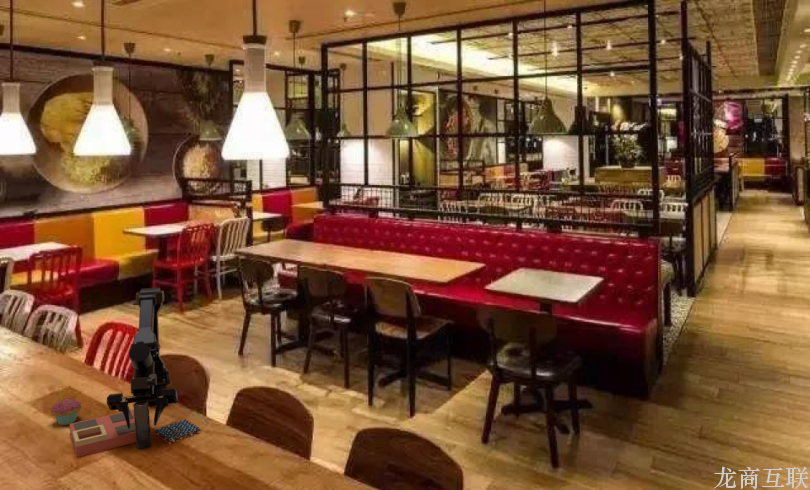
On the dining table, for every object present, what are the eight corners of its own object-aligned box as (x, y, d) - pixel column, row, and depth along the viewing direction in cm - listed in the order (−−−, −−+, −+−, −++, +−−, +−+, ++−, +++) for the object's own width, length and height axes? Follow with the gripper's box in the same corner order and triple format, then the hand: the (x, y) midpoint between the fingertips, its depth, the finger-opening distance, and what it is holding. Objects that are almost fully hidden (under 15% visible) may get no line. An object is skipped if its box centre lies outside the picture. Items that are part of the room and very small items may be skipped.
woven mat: (152, 435, 185) (152, 429, 184) (185, 424, 192) (185, 418, 192) (168, 446, 178) (168, 440, 177) (202, 434, 185) (201, 427, 185)
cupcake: (68, 428, 189) (65, 391, 187) (45, 426, 191) (41, 390, 189) (88, 417, 197) (85, 381, 196) (65, 415, 199) (62, 380, 197)
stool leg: (150, 441, 180) (146, 399, 178) (153, 446, 176) (149, 404, 174) (135, 445, 177) (132, 403, 176) (138, 450, 174) (134, 407, 172)
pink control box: (133, 418, 196) (132, 405, 195) (145, 439, 181) (144, 425, 180) (70, 433, 186) (69, 419, 185) (77, 456, 171) (75, 441, 170)
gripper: (105, 368, 175) (100, 420, 166) (174, 361, 180) (173, 411, 171) (112, 384, 183) (108, 435, 174) (177, 377, 188) (177, 426, 180)
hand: (142, 426), depth 175 cm, fingers open, 7 cm apart
